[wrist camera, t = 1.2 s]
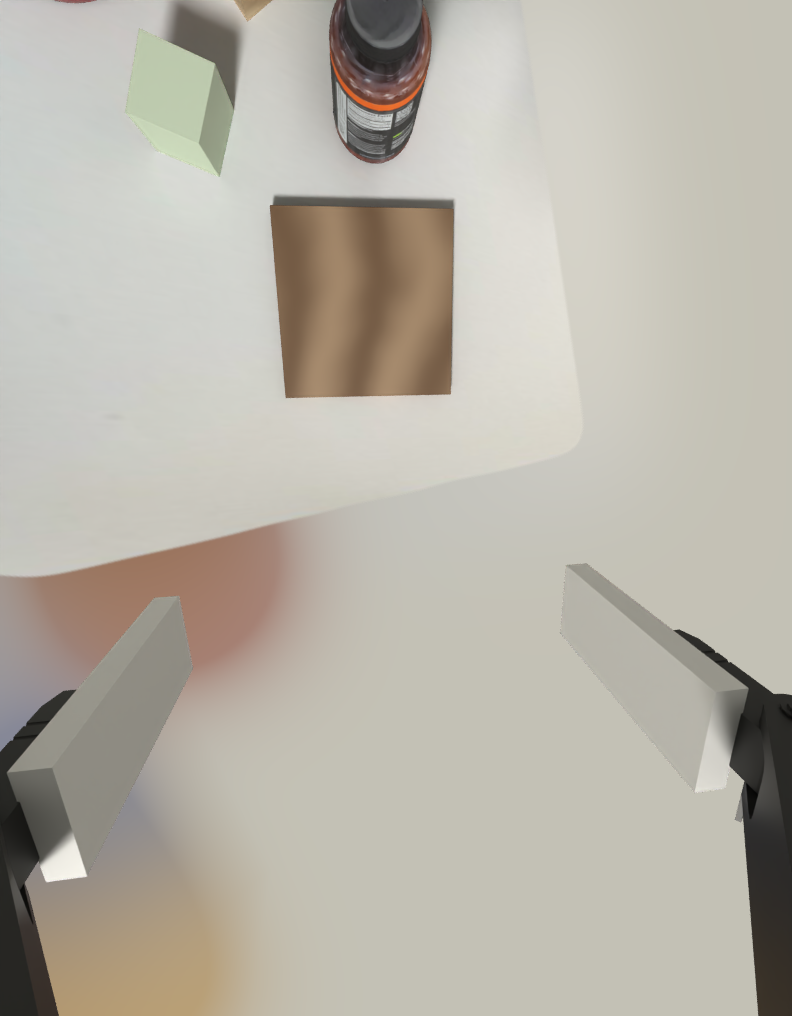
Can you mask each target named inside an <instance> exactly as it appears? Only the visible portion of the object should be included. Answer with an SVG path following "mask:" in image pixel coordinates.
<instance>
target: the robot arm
mask: <svg viewBox="0 0 792 1016" xmlns="http://www.w3.org/2000/svg"><path fill="white" fill-rule="evenodd" d="M560 634H561V635H562V636H563V637H564V639H565V640H566V641H567V642H568V643H569V645H570V646H571V647H572V648H573V649H574V650H575V651H576V653H577V654H578V655H579V656H580V657H581V659H582V660H583V661H584V662H585V664H586V665H587V666H588V667H589V668H590V669H591V671H592V672H593V673H594V674H595V675H596V676H597V678H598V679H599V680H600V681H601V682H602V683H603V685H604V686H605V687H606V688H607V690H608V691H609V692H610V693H611V694H612V695H613V697H614V698H615V699H616V700H617V701H618V703H619V704H620V705H621V706H622V707H623V709H624V710H625V711H626V712H627V713H628V714H629V716H630V717H631V718H632V719H633V720H634V722H635V723H636V724H637V725H638V726H639V727H640V729H641V730H642V731H643V732H644V733H645V734H646V736H647V737H648V738H649V739H650V740H651V742H652V743H653V744H654V745H655V746H656V747H657V749H658V750H659V751H660V752H661V753H662V755H663V756H664V757H665V758H666V759H667V761H668V762H669V763H670V764H671V765H672V767H673V768H674V769H675V770H676V771H677V772H678V774H679V775H680V776H681V777H682V778H683V779H684V781H685V782H686V783H687V784H688V785H689V787H690V788H691V789H692V790H693V791H694V792H695V793H696V792H703V791H711V790H717V789H725V787H726V783H727V779H728V775H729V770H730V767H731V768H732V769H733V770H734V771H735V772H736V773H737V774H738V775H739V776H740V777H741V778H742V779H743V780H744V781H745V782H744V785H743V789H742V793H741V798H740V801H739V805H738V810H737V814H736V817H735V820H737V821H739V822H741V821H742V818H743V822H744V834H745V848H746V861H747V874H748V887H749V900H750V912H751V926H752V939H753V952H754V965H755V978H756V991H757V1003H758V1016H792V695H787V694H773V693H772V692H770V691H769V690H768V689H766V688H765V687H763V686H762V685H761V684H759V683H758V682H757V681H756V680H754V679H753V678H751V677H750V676H749V675H747V674H746V673H745V672H743V671H742V670H741V669H739V668H738V667H737V666H735V665H734V664H732V663H731V662H730V663H729V662H728V661H727V659H726V658H724V657H723V656H722V655H720V654H719V653H715V651H714V650H713V649H712V648H711V647H709V646H708V645H707V644H705V643H704V642H702V641H701V640H700V639H698V638H696V637H694V636H692V635H690V634H687V633H685V632H683V631H681V630H672V629H671V628H669V627H668V626H667V625H666V624H664V623H663V622H662V621H661V620H659V619H658V618H657V617H655V616H654V615H653V614H651V613H650V612H649V611H648V610H646V609H645V608H644V607H642V606H641V605H640V604H638V603H637V602H636V601H634V600H633V599H632V598H630V597H629V596H628V595H627V594H625V593H624V592H623V591H621V590H620V589H619V588H618V587H616V586H615V585H614V584H612V583H611V582H610V581H609V580H607V579H606V578H605V577H603V576H602V575H601V574H599V573H598V572H597V571H596V570H594V569H593V568H592V567H590V566H589V565H588V564H575V565H566V571H565V582H564V594H563V606H562V618H561V629H560ZM192 670H193V667H192V661H191V656H190V651H189V645H188V640H187V635H186V630H185V624H184V619H183V614H182V609H181V603H180V598H179V596H172V597H161V598H154V599H153V600H152V601H151V603H150V604H149V605H148V606H147V607H146V608H145V610H144V611H143V612H142V613H141V615H140V616H139V617H138V618H137V619H136V620H135V621H134V623H133V624H132V625H131V626H130V627H129V629H128V630H127V631H126V632H125V633H124V634H123V636H122V637H121V638H120V639H119V640H118V642H117V643H116V644H115V645H114V646H113V648H112V649H111V650H110V651H109V652H108V654H107V655H106V656H105V657H104V658H103V659H102V661H101V662H100V663H99V664H98V665H97V667H96V668H95V669H94V670H93V671H92V672H91V674H90V675H89V676H88V677H87V678H86V679H85V681H84V682H83V683H82V684H81V686H80V687H79V688H78V689H77V690H68V691H63V692H61V693H60V694H58V695H57V696H56V697H54V698H53V699H51V700H50V701H49V702H47V703H46V704H44V705H43V706H41V708H40V709H39V710H38V711H37V712H36V713H35V714H34V715H33V716H32V718H31V719H30V720H29V721H28V722H27V724H26V726H24V727H23V728H22V729H21V730H20V731H19V732H18V733H17V734H16V735H15V736H14V739H13V741H10V742H9V743H8V744H7V745H6V746H5V747H4V748H3V749H2V751H1V752H0V1016H59V1015H58V1011H57V1006H56V1002H55V998H54V994H53V990H52V986H51V983H50V978H49V974H48V970H47V966H46V962H45V958H44V954H43V950H42V946H41V942H40V938H39V934H38V930H37V926H36V921H35V917H34V913H33V909H32V905H31V901H30V897H29V894H28V891H27V888H26V886H25V881H26V880H27V878H28V876H29V875H30V873H31V872H32V870H33V868H34V867H35V865H36V864H37V862H38V861H39V864H40V866H41V869H42V872H43V875H44V878H45V880H46V882H50V881H58V880H65V879H72V878H79V877H86V876H88V874H89V872H90V870H91V868H92V866H93V864H94V862H95V860H96V858H97V856H98V854H99V852H100V850H101V848H102V846H103V844H104V842H105V840H106V838H107V836H108V834H109V833H110V830H111V829H112V826H113V825H114V823H115V821H116V819H117V816H118V815H119V813H120V811H121V809H122V807H123V805H124V803H125V801H126V799H127V797H128V795H129V793H130V791H131V789H132V787H133V785H134V783H135V781H136V779H137V777H138V776H139V774H140V772H141V770H142V768H143V766H144V764H145V762H146V760H147V758H148V756H149V754H150V752H151V750H152V748H153V746H154V744H155V742H156V740H157V738H158V736H159V734H160V732H161V730H162V728H163V726H164V724H165V722H166V720H167V719H168V716H169V715H170V713H171V711H172V709H173V707H174V705H175V703H176V701H177V699H178V697H179V695H180V693H181V691H182V689H183V687H184V685H185V683H186V681H187V679H188V677H189V675H190V673H191V671H192Z"/></svg>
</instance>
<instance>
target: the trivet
mask: <svg viewBox="0 0 792 1016" xmlns="http://www.w3.org/2000/svg"><path fill="white" fill-rule="evenodd" d="M270 214H271V226H272V238H273V250H274V262H275V274H276V286H277V298H278V310H279V322H280V334H281V347H282V359H283V371H284V383H285V395H286V398H303V397H349V396H395V395H442V394H451V338H452V273H453V209H435V208H384V207H333V206H283V205H270Z"/></svg>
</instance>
